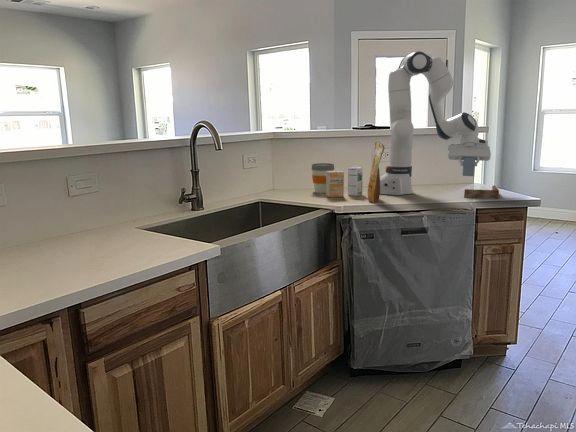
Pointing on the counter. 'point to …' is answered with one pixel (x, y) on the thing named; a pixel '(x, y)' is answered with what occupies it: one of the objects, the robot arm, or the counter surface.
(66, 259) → the counter surface
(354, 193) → the syrup box
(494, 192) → the brown wooden tray
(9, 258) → the counter surface
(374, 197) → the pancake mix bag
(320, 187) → the reusable coffee cup
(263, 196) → the counter surface
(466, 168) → the slate block
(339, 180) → the supplement box
